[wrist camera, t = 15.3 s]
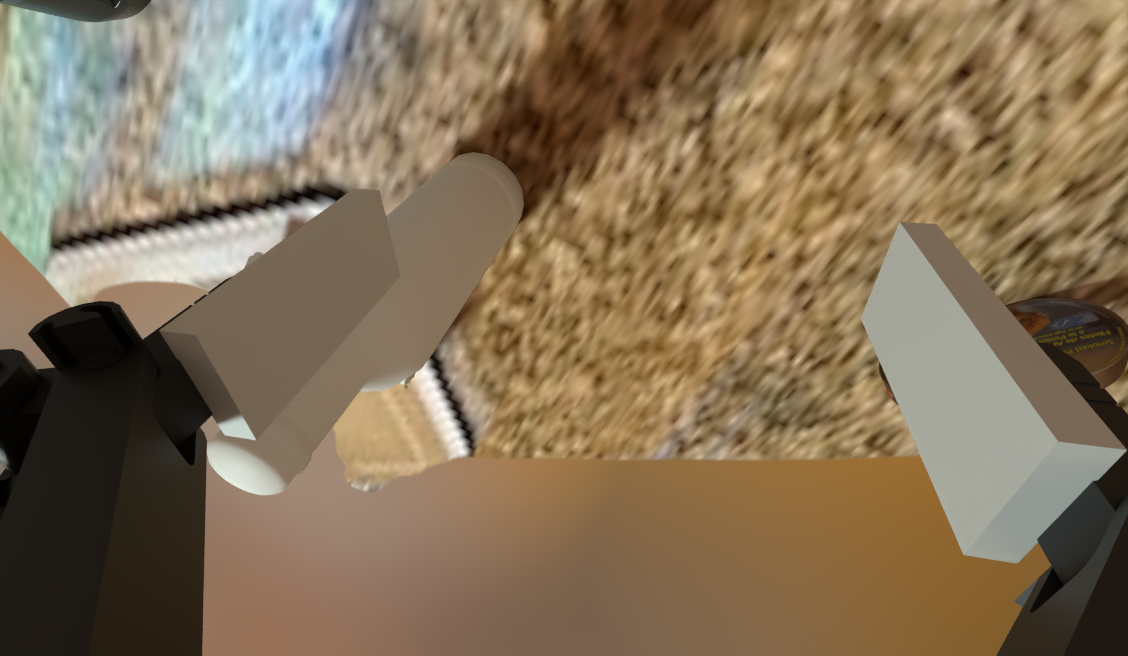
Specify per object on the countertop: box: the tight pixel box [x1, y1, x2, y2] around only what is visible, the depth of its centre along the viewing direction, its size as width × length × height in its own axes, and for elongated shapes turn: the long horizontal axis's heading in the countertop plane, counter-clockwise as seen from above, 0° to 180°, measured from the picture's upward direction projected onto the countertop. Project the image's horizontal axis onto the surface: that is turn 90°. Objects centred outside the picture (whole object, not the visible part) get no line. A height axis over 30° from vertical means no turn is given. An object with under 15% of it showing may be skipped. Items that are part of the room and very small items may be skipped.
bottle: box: [207, 152, 524, 495], centre depth 33 cm, size 8×8×30 cm
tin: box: [879, 298, 1128, 406], centre depth 40 cm, size 15×3×8 cm, turn 121°
